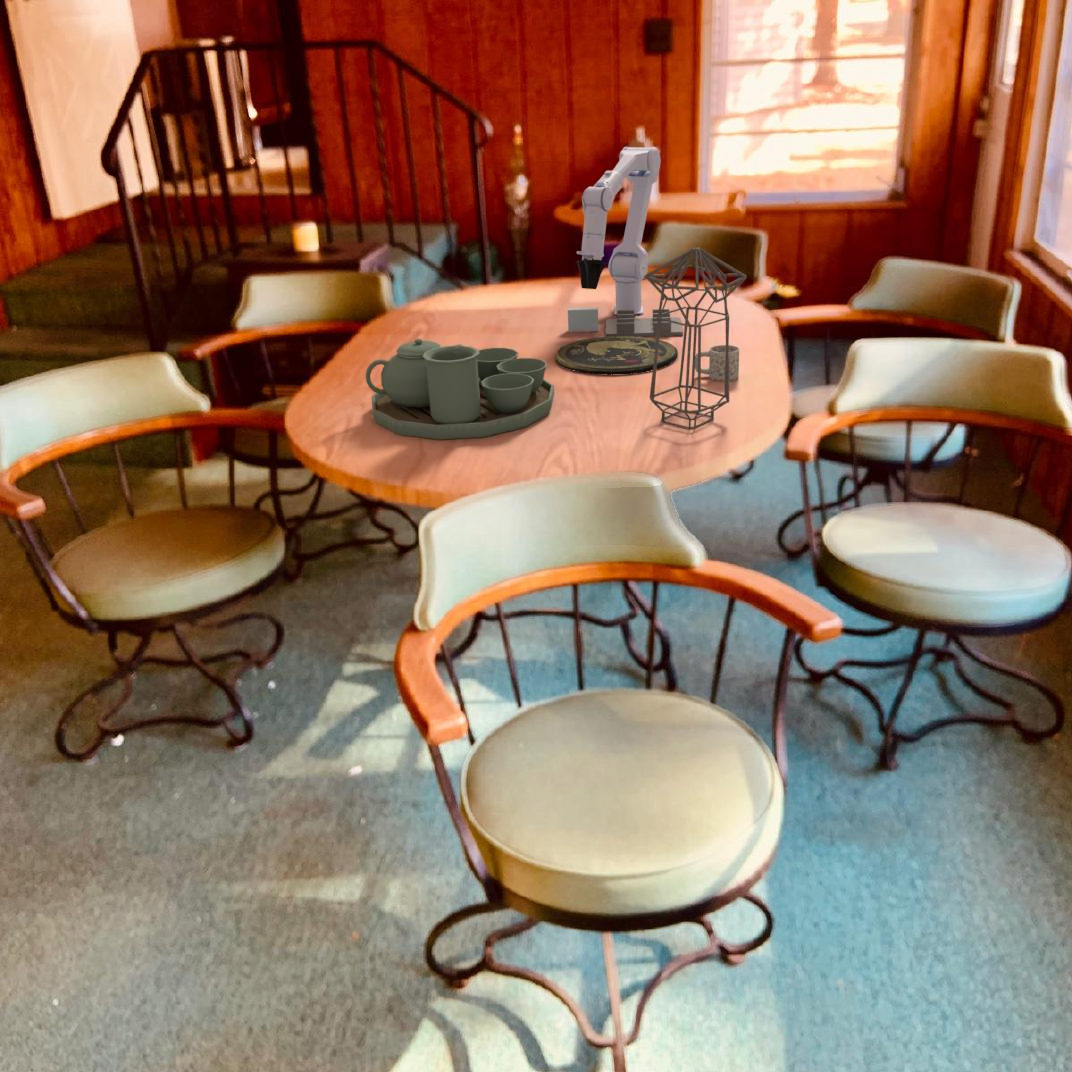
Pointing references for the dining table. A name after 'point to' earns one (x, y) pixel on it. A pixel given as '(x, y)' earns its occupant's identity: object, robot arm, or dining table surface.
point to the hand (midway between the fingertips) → (588, 288)
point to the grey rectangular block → (583, 319)
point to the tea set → (458, 391)
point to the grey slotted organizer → (642, 325)
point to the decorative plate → (615, 355)
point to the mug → (720, 363)
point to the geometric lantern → (682, 267)
